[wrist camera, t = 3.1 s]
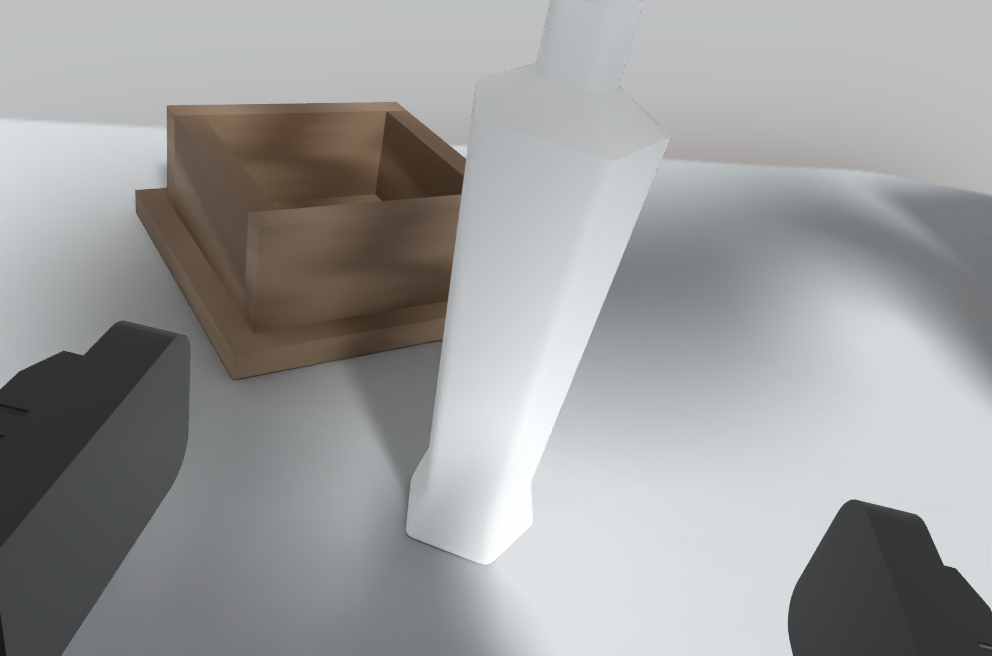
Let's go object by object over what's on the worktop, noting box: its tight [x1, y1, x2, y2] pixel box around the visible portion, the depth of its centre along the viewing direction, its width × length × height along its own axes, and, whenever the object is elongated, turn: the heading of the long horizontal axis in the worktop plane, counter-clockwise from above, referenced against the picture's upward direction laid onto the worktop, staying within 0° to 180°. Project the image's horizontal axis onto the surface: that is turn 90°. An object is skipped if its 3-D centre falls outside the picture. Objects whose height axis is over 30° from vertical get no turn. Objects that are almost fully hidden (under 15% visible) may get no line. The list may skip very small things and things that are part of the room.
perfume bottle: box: [406, 0, 671, 565], centre depth 21 cm, size 5×4×15 cm
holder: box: [135, 102, 466, 380], centre depth 34 cm, size 12×12×5 cm
